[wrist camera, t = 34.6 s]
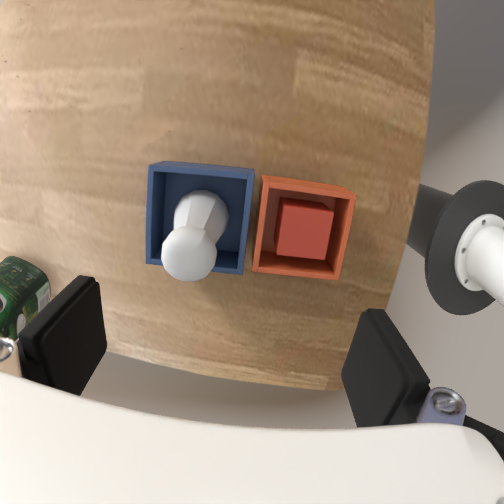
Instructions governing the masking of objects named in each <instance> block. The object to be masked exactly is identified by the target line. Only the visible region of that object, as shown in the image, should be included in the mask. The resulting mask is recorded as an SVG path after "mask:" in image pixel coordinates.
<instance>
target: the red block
mask: <svg viewBox="0 0 504 504" xmlns="http://www.w3.org/2000/svg"><path fill="white" fill-rule="evenodd" d="M333 216H334V212H333V211H332V210H331V209H329V208H328V207H327V206H326V205H325V204H324V203H322V202H316V201H309V200H302V199H294V198H287V197H279V203H278V210H277V217H276V224H275V231H274V237H273V240H274V245H275V249H276V254H277V255H284V256H293V257H302V258H311V259H320V260H325V256H326V252H327V247H328V242H329V237H330V232H331V227H332V221H333Z"/></svg>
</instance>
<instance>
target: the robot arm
mask: <svg viewBox="0 0 504 504" xmlns="http://www.w3.org/2000/svg"><path fill="white" fill-rule="evenodd" d="M455 272H456V276H457V278H458V280H459V282H460V283H461V284H462V285H463V286H464V287H466V288H467V289H469V290H471V291H480V290H485V291H486V292H487V293H488V294H490V295H491V296H492V297H493V298H494V299H496V300H497V301H498V302H499V303H500V304H502V305H503V306H504V220H503V219H502V218H501V217H498V216H496V215H493V214H485V215H481V216H479V217H478V218H476V219H475V220H474V221H472V222H471V223H470V224H469V226H468V227H467V228H466V230H465V231H464V233H463V234H462V236H461V238H460V241H459V243H458V246H457V249H456V254H455ZM18 336H19V340H18V342H17V343H16V342H15V341H14V340H12V339H10V338H6V337H0V504H504V433H503V432H501V431H499V430H496V429H495V428H492V427H490V426H488V425H486V424H484V423H482V422H479V421H477V420H475V419H473V418H471V417H468V416H467V415H465V413H466V404H465V401H464V399H463V398H462V397H461V396H460V395H459V394H458V393H457V392H455V391H454V390H452V389H449V388H445V387H436V388H433V389H432V390H431V389H430V387H429V383H430V379H429V378H428V376H427V375H426V373H425V372H424V370H423V368H422V367H421V365H420V363H419V362H418V360H417V359H416V357H415V356H414V354H413V353H412V351H411V349H410V348H409V346H408V345H407V343H406V342H405V340H404V339H403V337H402V336H401V334H400V333H399V331H398V330H397V328H396V327H395V325H394V324H393V322H392V321H391V319H390V318H389V317H388V315H387V314H386V312H385V311H384V310H383V309H370V308H369V309H367V310H366V312H363V313H362V314H361V316H360V319H359V322H358V325H357V328H356V331H355V334H354V337H353V340H352V343H351V346H350V349H349V352H348V355H347V358H346V361H345V363H344V366H343V369H342V375H341V376H342V381H343V384H344V387H345V390H346V393H347V396H348V399H349V402H350V406H351V409H352V412H353V415H354V418H355V422H356V425H357V428H336V429H287V428H265V427H264V428H263V427H249V426H236V425H226V424H217V423H209V422H200V421H193V420H187V419H180V418H174V417H168V416H162V415H157V414H152V413H146V412H141V411H137V410H132V409H128V408H123V407H119V406H115V405H111V404H107V403H103V402H99V401H95V400H92V399H88V398H84V397H81V396H80V395H81V393H82V391H83V390H84V388H85V386H86V384H87V383H88V381H89V379H90V377H91V376H92V374H93V372H94V370H95V369H96V367H97V365H98V364H99V362H100V360H101V359H102V357H103V355H104V354H105V352H106V348H107V341H106V334H105V328H104V320H103V312H102V304H101V295H100V286H99V283H98V282H96V281H95V278H94V277H88V276H82V275H79V276H77V277H76V278H75V279H74V280H73V281H72V282H71V283H70V284H69V285H67V286H66V287H65V288H64V289H63V290H62V291H61V292H60V293H59V294H58V295H57V296H56V297H55V298H54V299H53V300H52V301H50V302H49V303H48V304H47V305H46V306H45V307H44V308H43V309H42V310H41V311H40V312H39V313H38V314H37V315H36V316H35V317H34V318H33V319H32V320H31V321H30V322H29V323H28V324H27V325H26V326H25V327H24V328H23V329H22V330H21V331H20V332H19V333H18Z"/></svg>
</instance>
